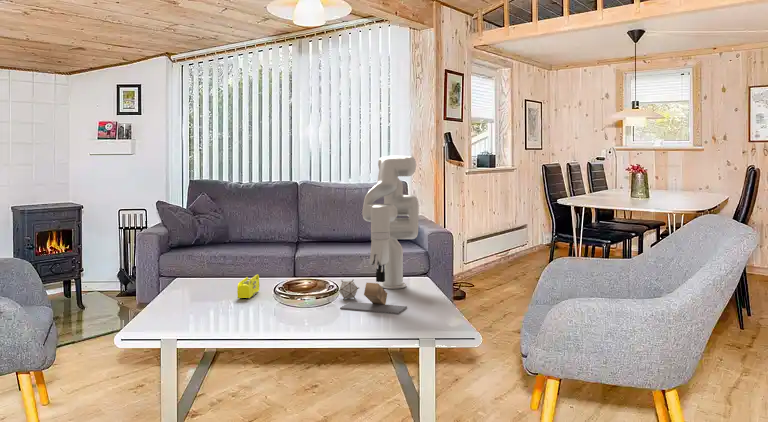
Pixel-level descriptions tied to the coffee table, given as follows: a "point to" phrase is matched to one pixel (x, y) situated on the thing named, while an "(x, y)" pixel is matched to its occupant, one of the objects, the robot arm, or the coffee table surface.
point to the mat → (374, 307)
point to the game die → (348, 289)
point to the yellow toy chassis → (248, 287)
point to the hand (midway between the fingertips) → (380, 281)
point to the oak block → (375, 293)
